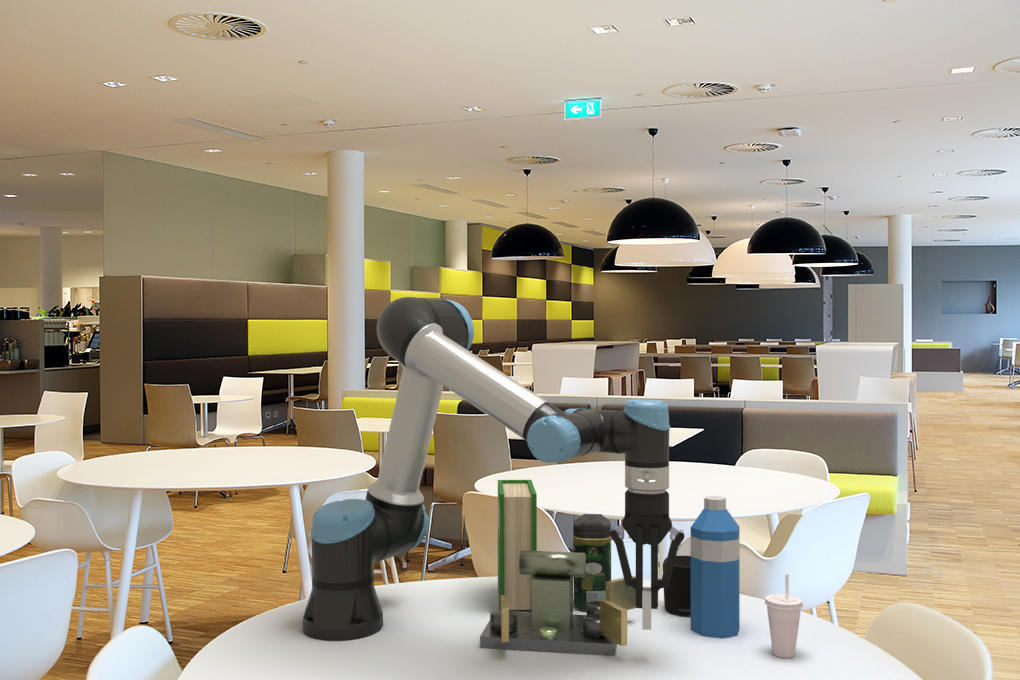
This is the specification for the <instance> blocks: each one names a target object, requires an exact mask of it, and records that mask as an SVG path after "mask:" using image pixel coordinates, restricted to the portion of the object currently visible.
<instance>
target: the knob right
mask: <svg viewBox="0 0 1020 680" xmlns="http://www.w3.org/2000/svg"><path fill="white" fill-rule="evenodd" d="M583 634H585V635H587V636H590V637H606V638H608V639H610V640H611V641H613V642H615V643H616V644H617V645H618V646H620V647H626V646H628V610H626V609H624V608H622V607H620V606H618V605H616V604H614V603H612V602H610V601H608V600H606V599H603V600H600V614H592V615H587V616H584V617H583Z"/></svg>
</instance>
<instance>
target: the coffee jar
mask: <svg viewBox="0 0 1020 680" xmlns="http://www.w3.org/2000/svg"><path fill="white" fill-rule="evenodd" d="M611 526H612V523H611V521H610V520H609V519H608V518H607V517H606V516H604V515H603V514H600V513H583V514H582V515H581V516H578V517H576V518H575V520H574V521H573V526H572V528H573V529H572V530H573V531H572V552H577V553H585V554H586V573H585V577H573V606H574V608H576V609H577V610H581V611H586V604H587V603H589V602H593V601H600V600H603V599H606V581H610V580H612V538H611V536H610V530H611V528H612V527H611Z"/></svg>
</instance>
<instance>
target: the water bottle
mask: <svg viewBox="0 0 1020 680" xmlns="http://www.w3.org/2000/svg"><path fill="white" fill-rule="evenodd" d="M740 532H741V530H740V525H739V523H738V522H737V521H736V520H735V519H734V517H733V516H732V514H731V513H730V511H729V510H728V509H727V497H724V496H720V495H708V496H706V495H705V497H703V509H702V511H701V512H700V513H699V515H698V516H697V517H696V518H695V520H694V522H693V523H692V524H691V526H690V556H691V617H690V631H692V632H694V633H695V634H698V635H699V636H701V637H707V638H716V639H725V638H731V637H736V636H738V635H739V632H740V629H741V628H740V623H741V622H740V620H741V619H740V617H741V616H740V610H741V609H740V608H741V607H740V594H741V593H740V582H741V581H740V576H741V575H740V562H741V561H740V553H741V551H740V548H741V546H740V545H741V544H740V542H741V541H740Z"/></svg>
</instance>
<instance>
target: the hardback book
mask: <svg viewBox="0 0 1020 680" xmlns="http://www.w3.org/2000/svg"><path fill="white" fill-rule="evenodd" d="M537 495H538V494H537V491H536V489H535V486H534V483H533V480H532V479H497V594H498V607H499V609H498V610H501V595H507V597H508V605H509V610H512V611H517V610H518V611H519V610H520V611H521V610H522V611H526V610H528V611H532V578H533V576H534V575H521V574H520V572H519V557H520V552H521V550H527V551H538V548H537V543H538V542H537V541H538V539H537V538H538V536H537V535H538V533H537V532H538V531H537V530H538V529H537V526H538V524H537V521H538V520H537V519H538V518H537V517H538V516H537V515H538V514H537V513H538V509H537V503H538V501H537V497H538V496H537Z"/></svg>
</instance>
